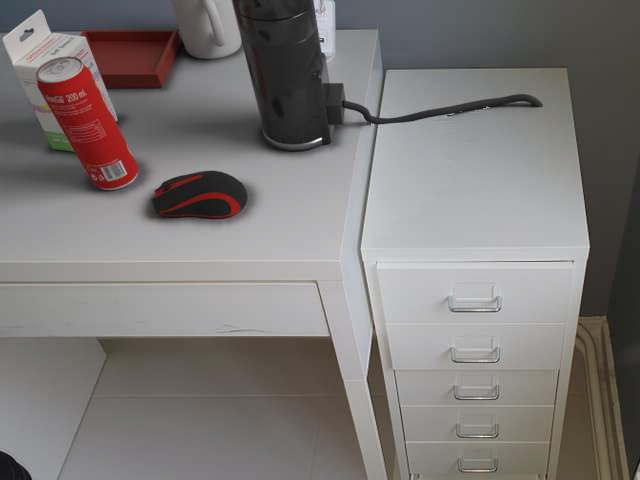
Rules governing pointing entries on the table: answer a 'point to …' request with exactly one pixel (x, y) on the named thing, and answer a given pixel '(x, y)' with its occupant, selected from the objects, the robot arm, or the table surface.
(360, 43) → the table surface
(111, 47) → the drinks tray
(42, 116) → the ink box
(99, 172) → the beverage can
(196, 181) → the computer mouse
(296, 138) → the robot arm
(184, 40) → the mug
